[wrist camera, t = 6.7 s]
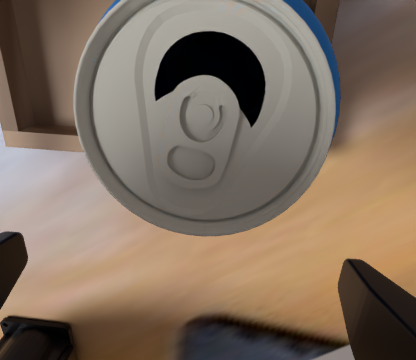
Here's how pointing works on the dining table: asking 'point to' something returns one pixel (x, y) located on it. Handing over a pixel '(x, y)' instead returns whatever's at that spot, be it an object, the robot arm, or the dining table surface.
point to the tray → (58, 66)
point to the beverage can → (207, 109)
